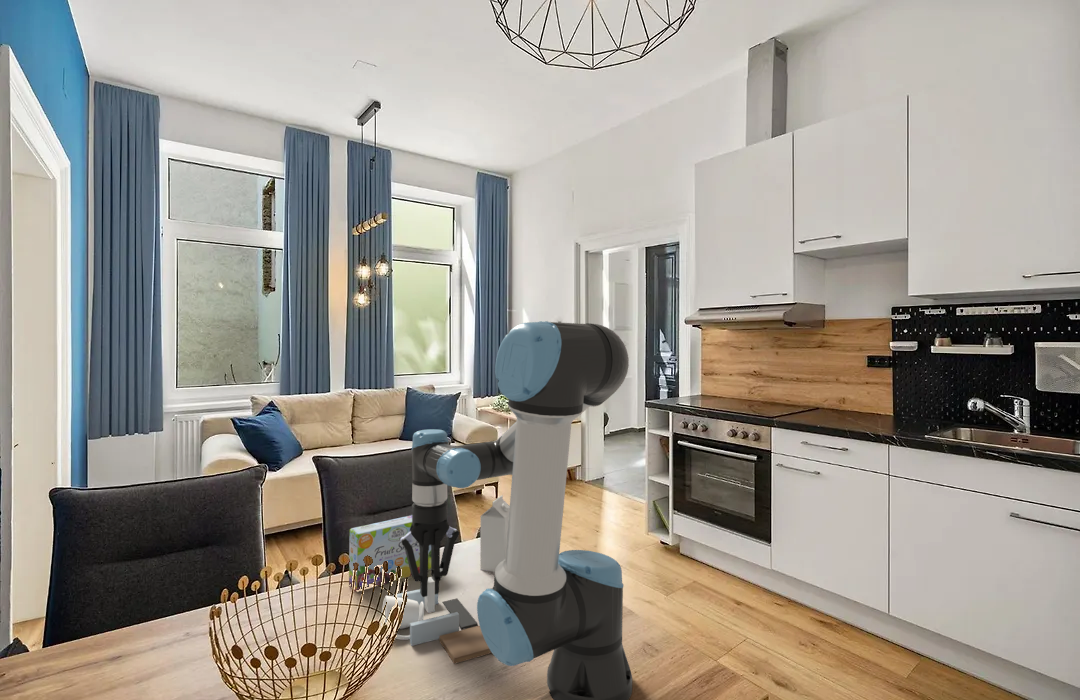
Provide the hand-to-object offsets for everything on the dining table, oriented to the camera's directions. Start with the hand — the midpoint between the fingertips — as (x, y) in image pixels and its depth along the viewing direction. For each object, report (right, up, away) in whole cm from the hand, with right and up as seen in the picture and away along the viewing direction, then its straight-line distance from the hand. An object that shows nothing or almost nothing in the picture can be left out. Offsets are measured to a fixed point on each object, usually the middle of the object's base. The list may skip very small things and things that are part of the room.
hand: (429, 609), depth 117 cm
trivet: (+10, -3, -10) cm, 14 cm away
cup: (-1, -1, -2) cm, 2 cm away
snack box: (-14, -3, +21) cm, 25 cm away
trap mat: (+6, -3, +3) cm, 7 cm away
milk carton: (+13, -3, +28) cm, 31 cm away
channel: (-1, -3, -1) cm, 3 cm away
